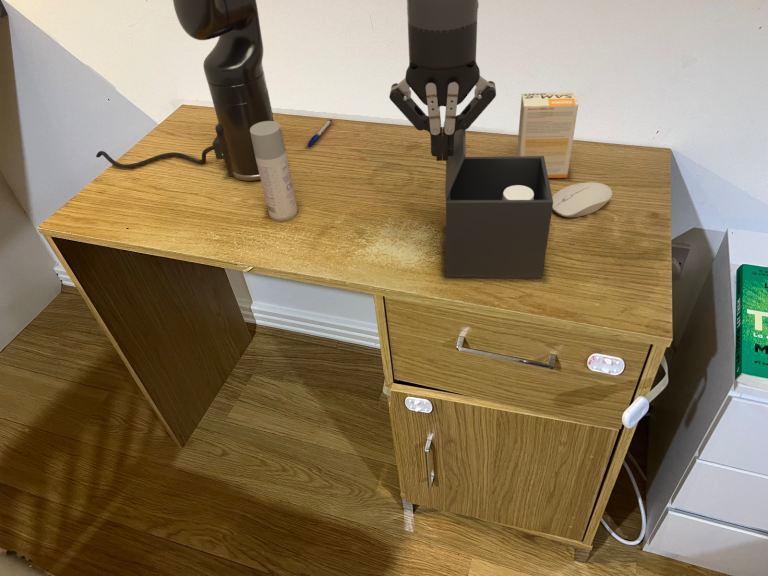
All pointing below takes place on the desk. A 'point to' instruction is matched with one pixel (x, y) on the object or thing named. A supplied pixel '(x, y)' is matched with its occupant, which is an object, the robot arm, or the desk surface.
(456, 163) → the flap
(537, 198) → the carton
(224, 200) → the desk surface
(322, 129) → the ballpoint pen
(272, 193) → the container
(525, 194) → the supplement bottle
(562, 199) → the computer mouse
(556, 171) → the supplement box
